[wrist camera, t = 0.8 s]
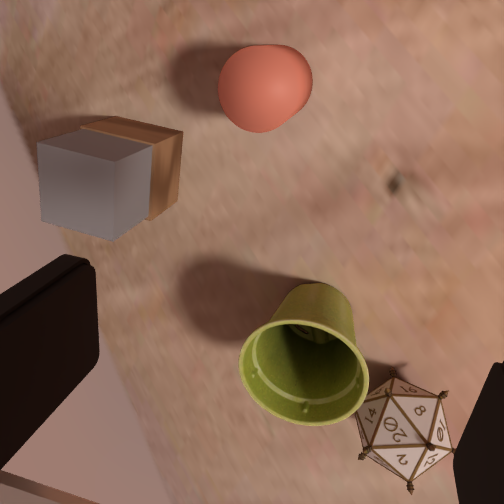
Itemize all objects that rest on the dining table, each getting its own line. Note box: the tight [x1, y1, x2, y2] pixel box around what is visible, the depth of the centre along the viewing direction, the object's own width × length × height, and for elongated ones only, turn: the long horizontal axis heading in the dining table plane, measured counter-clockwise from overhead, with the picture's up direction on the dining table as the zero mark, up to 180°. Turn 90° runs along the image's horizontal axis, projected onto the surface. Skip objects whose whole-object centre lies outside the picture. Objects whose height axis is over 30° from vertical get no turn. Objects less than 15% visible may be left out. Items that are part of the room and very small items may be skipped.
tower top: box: [37, 129, 153, 241], centre depth 31 cm, size 6×6×5 cm
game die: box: [355, 367, 456, 495], centre depth 37 cm, size 9×8×10 cm
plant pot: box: [238, 283, 369, 426], centre depth 36 cm, size 9×9×9 cm
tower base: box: [80, 116, 183, 221], centre depth 36 cm, size 6×6×5 cm
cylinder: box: [218, 45, 313, 133], centre depth 30 cm, size 5×5×6 cm
